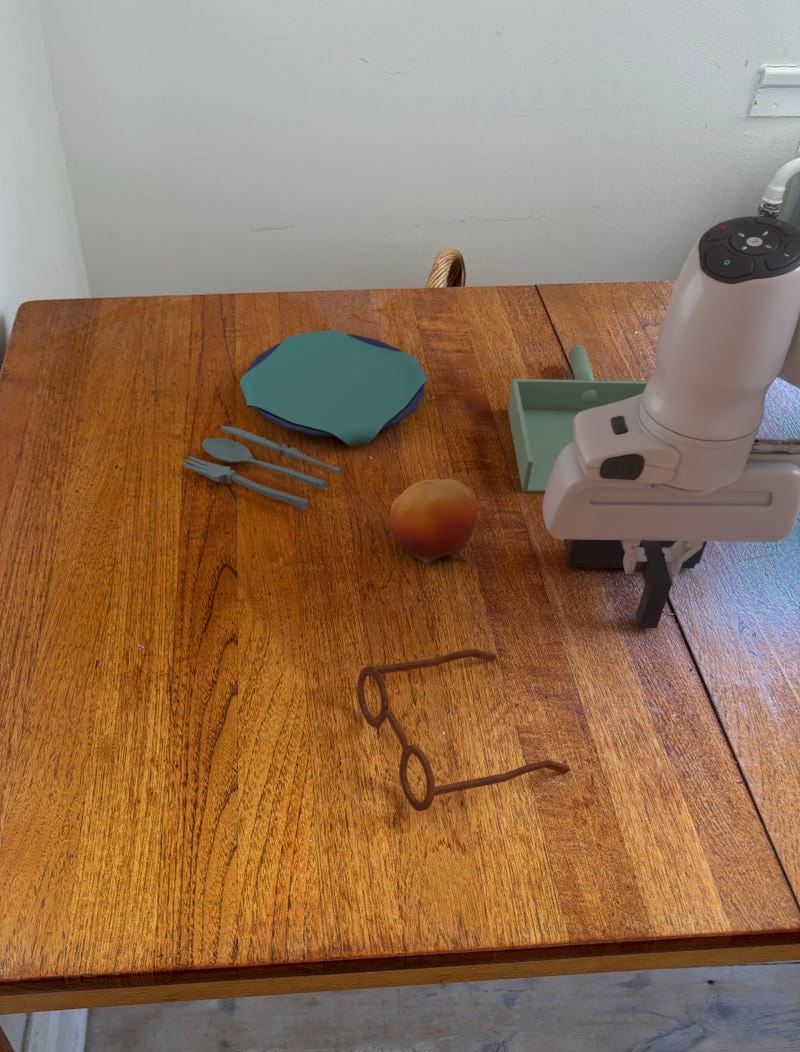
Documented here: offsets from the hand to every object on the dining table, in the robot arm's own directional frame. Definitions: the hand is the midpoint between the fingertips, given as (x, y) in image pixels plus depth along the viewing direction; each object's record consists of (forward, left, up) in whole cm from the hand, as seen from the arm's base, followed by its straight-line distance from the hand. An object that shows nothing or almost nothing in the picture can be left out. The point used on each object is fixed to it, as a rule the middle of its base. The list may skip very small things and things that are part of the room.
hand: (649, 569), depth 91 cm
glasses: (+17, +15, -4) cm, 24 cm away
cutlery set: (+30, -28, -4) cm, 41 cm away
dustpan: (0, -27, -4) cm, 28 cm away
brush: (0, -2, -4) cm, 4 cm away
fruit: (+18, -8, -4) cm, 20 cm away
